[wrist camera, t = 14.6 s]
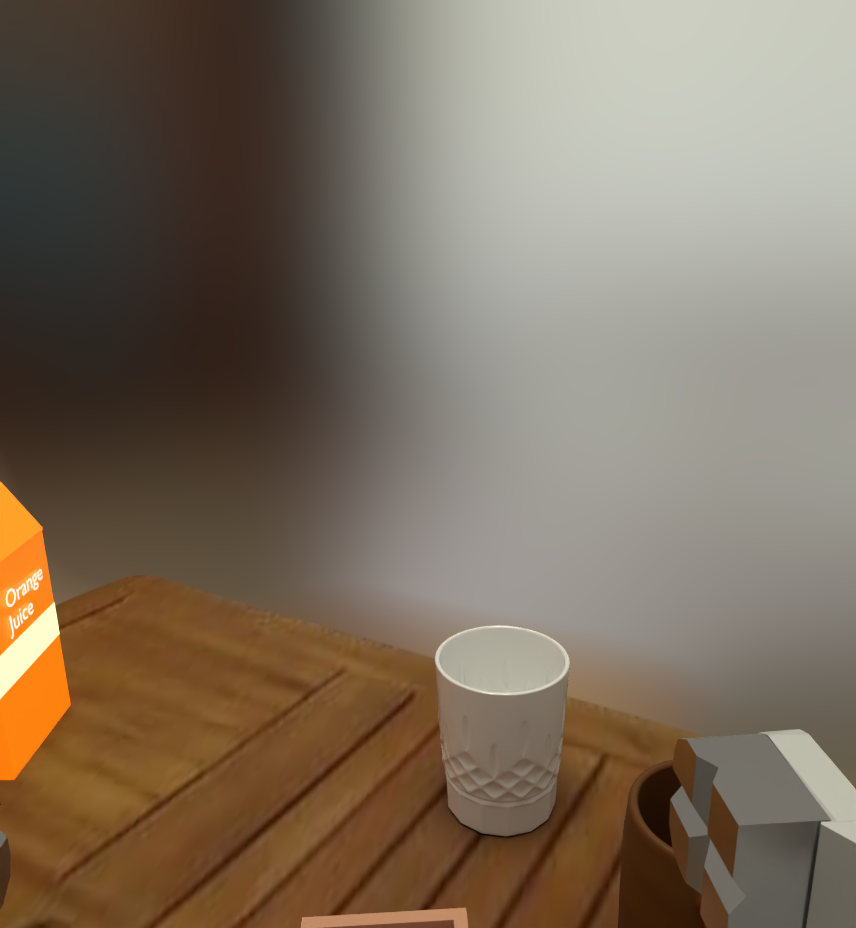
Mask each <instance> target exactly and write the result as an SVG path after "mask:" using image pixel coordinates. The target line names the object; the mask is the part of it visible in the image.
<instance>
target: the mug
mask: <svg viewBox="0 0 856 928" xmlns="http://www.w3.org/2000/svg"><path fill="white" fill-rule="evenodd" d="M681 786H682V785H681V783H680V781H679V779H678V777H677V775H676V773H675V771H674V770H673V760H670V761H665V762H662V763H659V764H656V765H654V766H652V767H650V768H648V769H647V770H645V771H644V772H643V773H642V774H640V775H639V777H638V778H637V779H636V780H635V782H634V783H633V785H632V787H631V789H630V792H629V796H628V803H627V810H626V815H625V821H624V830H623V843H622V859H621V876H620V893H619V918H618V928H706V925H705V923H704V921H703V919H702V917H701V915H700V910H701V898H702V894H700V893H699V892H698V891H696V890H695V889H694V888H692V887H691V886H689V885H688V884H687V883H685V880H684V878H683V876H682V874H681V871H680V869H679V867H678V864H677V861H676V858H675V854H674V851H673V848H672V841H671V833H670V825H669V817H670V799H671V798H672V797H673V795H674V794H675V793H676V792H677V791H678V789H679V788H680V787H681Z"/></svg>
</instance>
